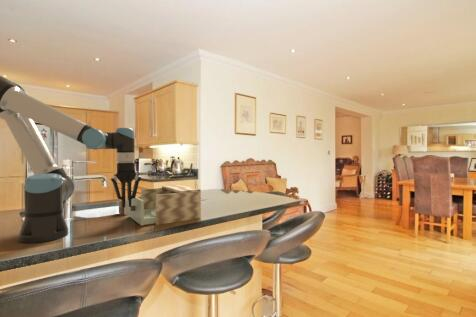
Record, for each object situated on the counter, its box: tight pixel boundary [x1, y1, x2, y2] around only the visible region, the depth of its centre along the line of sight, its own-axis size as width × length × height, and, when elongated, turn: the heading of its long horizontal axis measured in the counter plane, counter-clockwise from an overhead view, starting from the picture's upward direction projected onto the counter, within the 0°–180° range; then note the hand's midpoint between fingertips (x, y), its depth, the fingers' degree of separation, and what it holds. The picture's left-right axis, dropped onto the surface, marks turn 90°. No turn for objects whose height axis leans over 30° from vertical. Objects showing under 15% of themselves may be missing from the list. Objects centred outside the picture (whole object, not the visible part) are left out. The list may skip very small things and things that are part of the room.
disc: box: [151, 210, 156, 217], centre depth 132 cm, size 8×8×2 cm
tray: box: [128, 193, 156, 226], centre depth 131 cm, size 23×23×11 cm
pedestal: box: [118, 198, 128, 216], centre depth 143 cm, size 5×5×7 cm
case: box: [140, 184, 202, 226], centre depth 135 cm, size 21×25×14 cm
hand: (126, 214), depth 124 cm, fingers closed
